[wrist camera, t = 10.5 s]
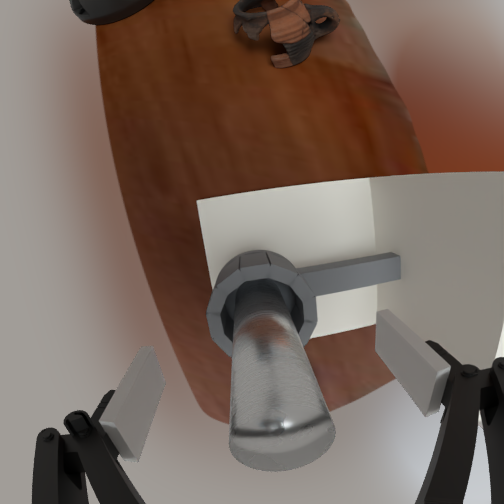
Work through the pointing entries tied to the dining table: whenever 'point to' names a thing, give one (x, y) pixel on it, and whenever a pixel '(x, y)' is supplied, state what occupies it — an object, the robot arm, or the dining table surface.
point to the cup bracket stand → (368, 257)
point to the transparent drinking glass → (273, 386)
